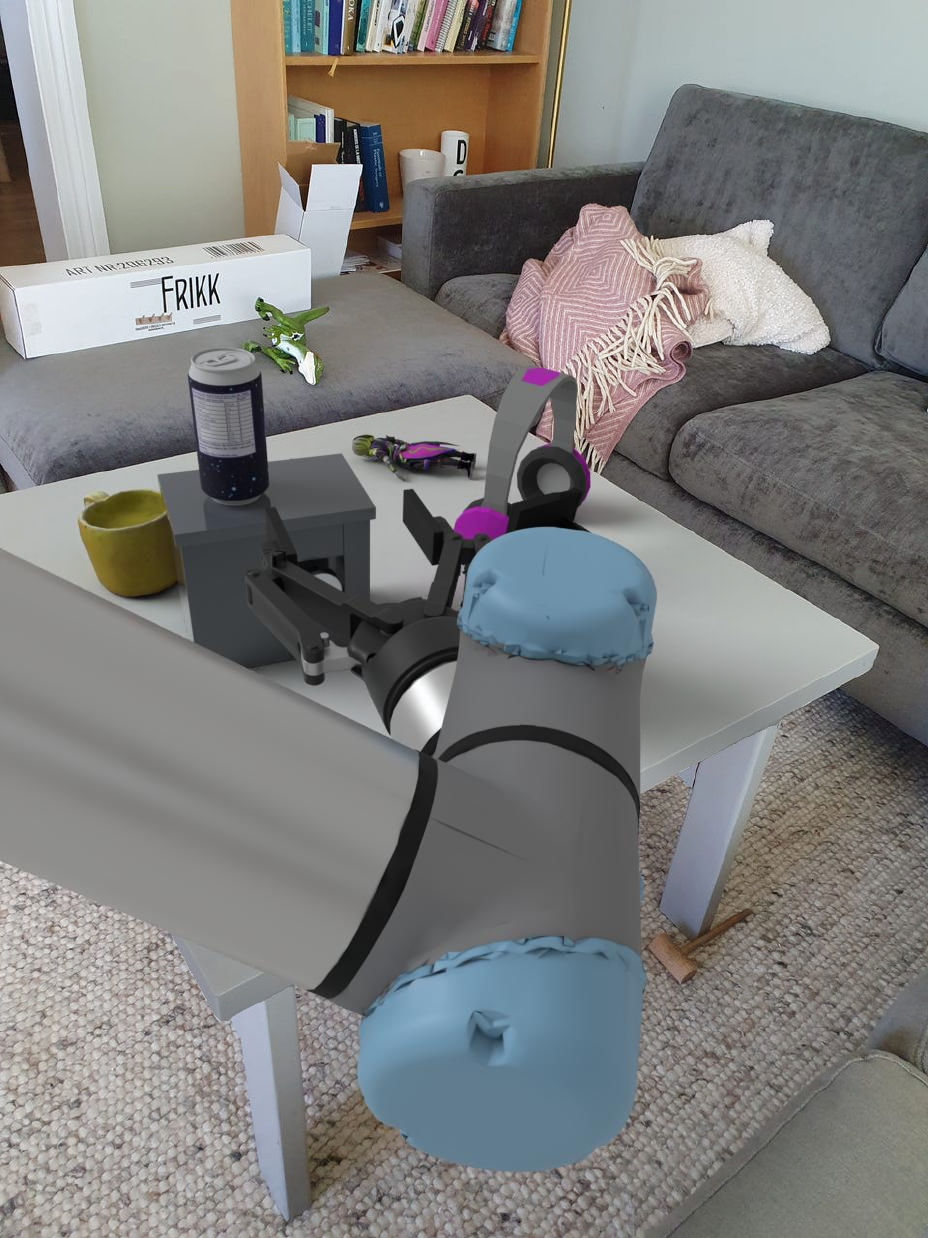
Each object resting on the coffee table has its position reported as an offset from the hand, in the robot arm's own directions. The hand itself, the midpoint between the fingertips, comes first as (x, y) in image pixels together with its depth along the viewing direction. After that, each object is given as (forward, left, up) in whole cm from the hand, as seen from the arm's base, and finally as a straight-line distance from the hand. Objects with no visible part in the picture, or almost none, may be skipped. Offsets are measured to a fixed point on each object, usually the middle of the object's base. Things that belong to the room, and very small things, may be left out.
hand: (341, 514), depth 67 cm
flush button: (-2, +8, -14) cm, 16 cm away
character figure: (+9, +47, -20) cm, 52 cm away
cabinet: (-6, +13, -20) cm, 25 cm away
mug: (-21, +24, -20) cm, 38 cm away
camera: (+16, +4, -20) cm, 26 cm away
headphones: (+21, +29, -20) cm, 41 cm away
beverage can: (-9, +12, -5) cm, 16 cm away
